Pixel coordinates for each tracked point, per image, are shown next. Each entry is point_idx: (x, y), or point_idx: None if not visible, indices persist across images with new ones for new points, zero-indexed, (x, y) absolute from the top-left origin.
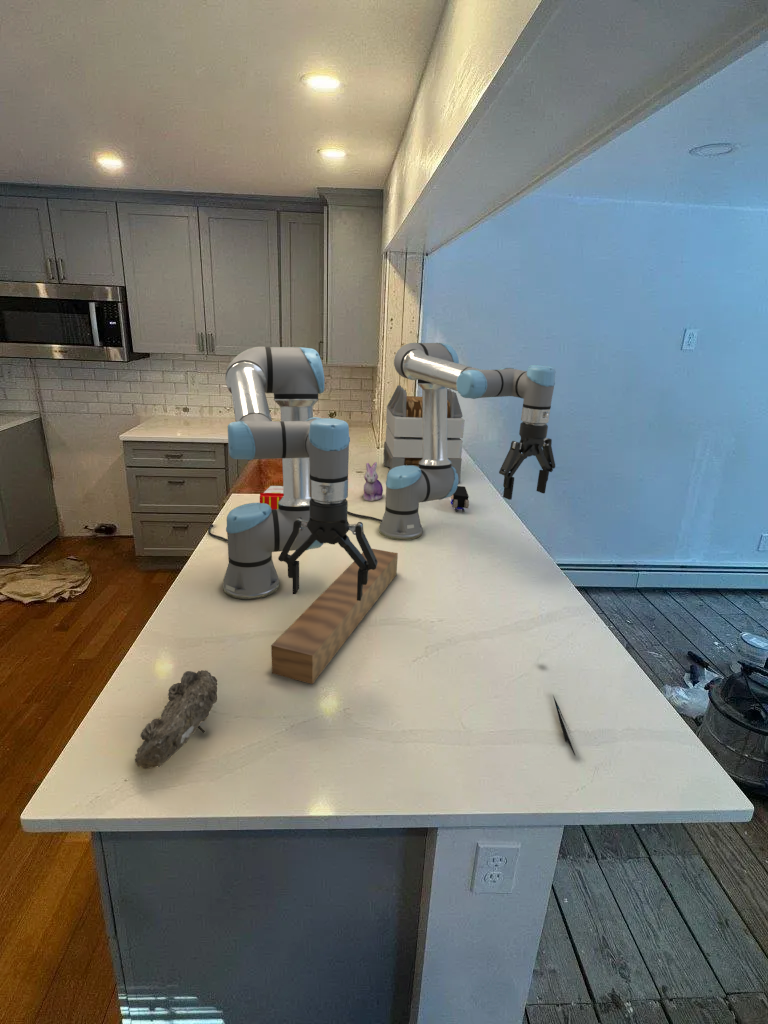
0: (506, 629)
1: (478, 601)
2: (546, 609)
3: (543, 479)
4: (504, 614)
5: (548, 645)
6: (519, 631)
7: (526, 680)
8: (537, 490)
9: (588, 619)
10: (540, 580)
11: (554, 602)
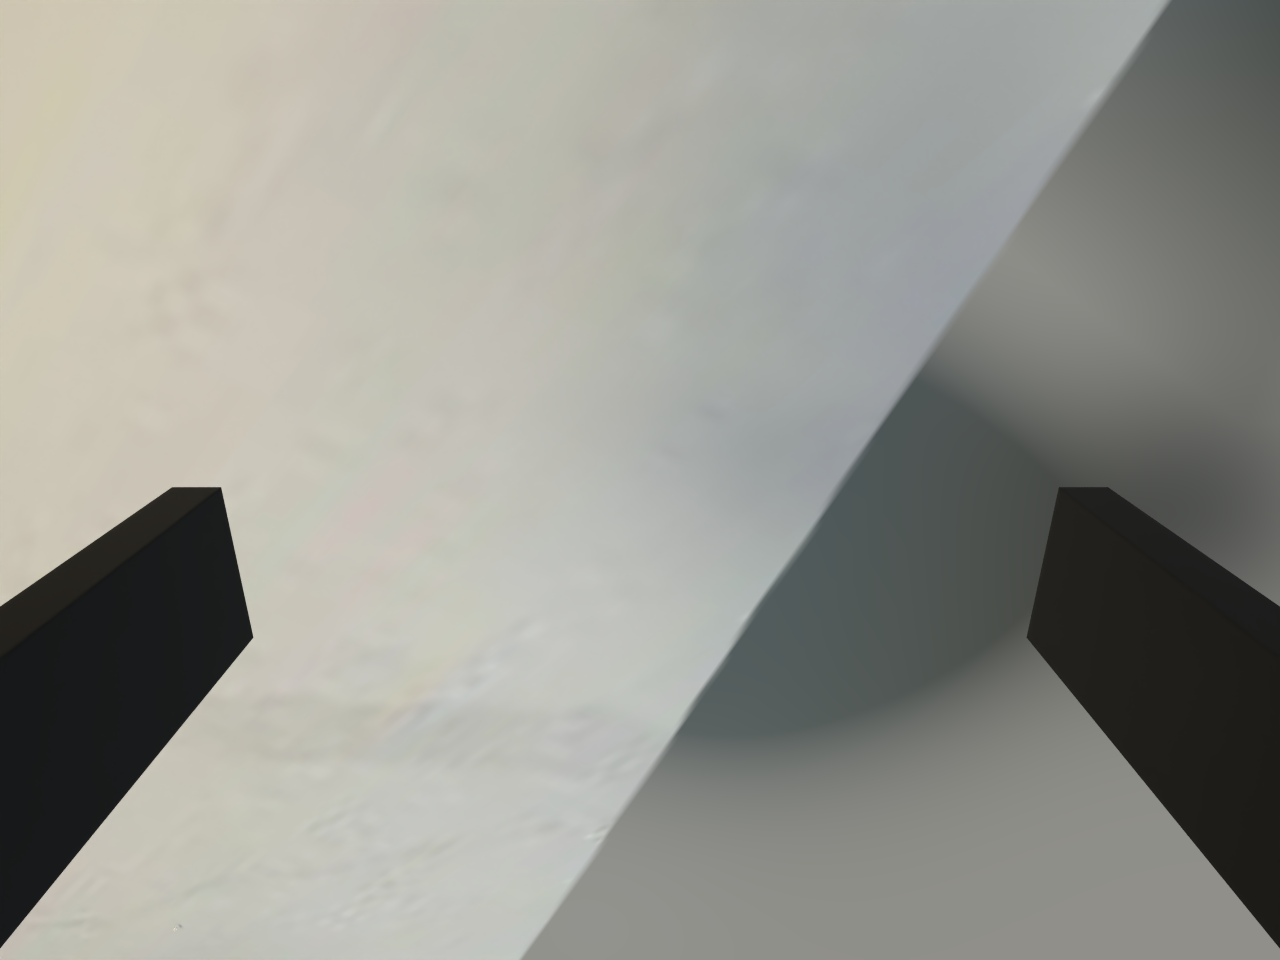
0: (193, 719)
1: (202, 480)
2: (491, 685)
3: (1203, 787)
4: (261, 631)
5: (292, 857)
6: (241, 752)
7: (79, 942)
8: (1061, 517)
9: (602, 812)
10: (714, 460)
11: (581, 659)
